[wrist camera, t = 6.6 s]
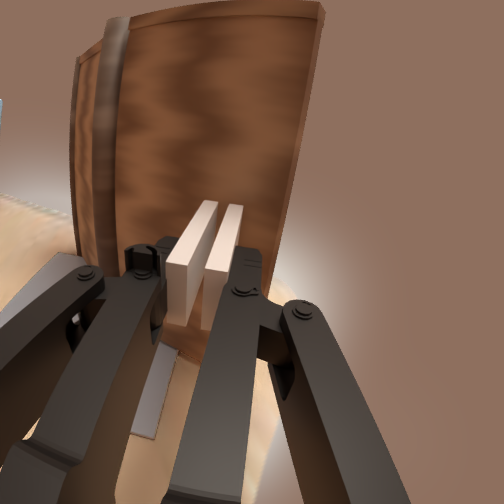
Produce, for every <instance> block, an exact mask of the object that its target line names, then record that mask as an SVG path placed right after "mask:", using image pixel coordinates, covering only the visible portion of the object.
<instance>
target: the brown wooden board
mask: <svg viewBox="0 0 504 504" xmlns="http://www.w3.org/2000/svg"><path fill="white" fill-rule="evenodd" d="M325 13H326V12H325V10H324V8H323V7H322V5H321V3H320V2H314V1H303V0H230V1H218V2H208V3H201V4H193V5H187V6H180V7H174V8H169V9H164V10H159V11H154V12H150V13H146V14H142V15H138V16H134V17H130V21H129V26H128V30H130V32H129V37H128V42H127V48H126V53H125V59H124V66H123V73H122V80H121V88H120V97H119V108H118V119H117V134H116V156H115V210H116V233H117V248H118V260H119V271H120V277H122V276H123V274H124V273H125V271H126V268H125V255H124V250H125V249H126V248H127V247H129V246H132V245H135V244H150V245H155V244H156V243H157V241H158V240H159V239H161V238H163V237H165V236H172V237H178V238H180V237H181V236H182V234H183V232H184V231H185V229H186V228H187V226H188V225H189V223H190V221H191V220H192V218H193V217H194V215H195V214H196V212H197V211H198V209H199V207H200V206H201V204H202V203H203V201H204V200H209V201H216V202H218V211H217V220H216V229H215V239H216V237H217V234H218V232H219V229H220V226H221V224H222V221H223V219H224V216H225V213H226V211H227V208H228V206H229V204H236V205H243V206H244V207H243V214H242V220H241V227H240V234H239V241H238V246H241V247H248V248H254V249H258V250H259V251H260V253H261V254H262V275H261V290H262V294H263V295H264V296H265V297H266V298H268V293H269V289H270V285H271V281H272V276H273V272H274V268H275V263H276V259H277V254H278V250H279V245H280V241H281V236H282V232H283V227H284V223H285V218H286V213H287V209H288V204H289V200H290V195H291V190H292V185H293V181H294V176H295V171H296V166H297V161H298V156H299V151H300V146H301V141H302V136H303V131H304V125H305V120H306V116H307V110H308V105H309V100H310V94H311V89H312V83H313V78H314V72H315V67H316V60H317V55H318V49H319V44H320V38H321V31H322V28H323V26H324V20H325ZM215 239H214V242H215ZM203 285H204V276H203V279H202V281H201V284H200V287H199V290H198V293H197V296H196V299H195V302H194V304H193V307H192V310H191V313H190V316H189V319H188V322H187V325H186V326H180V325H175V324H170V323H167V313H166V315H165V318H164V320H163V334H162V336H161V339H160V340H162V341H164V342H165V343H167V344H169V345H171V346H172V347H174V348H176V349H178V350H179V351H181V352H183V353H185V354H187V355H188V356H190V357H192V358H194V359H196V360H198V361H200V362H202V360H203V356H204V353H205V349H206V345H207V342H208V338H209V335H210V331H208V330H202V329H201V316H202V300H203Z"/></svg>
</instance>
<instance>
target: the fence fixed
mask: <svg viewBox="0 0 504 504" xmlns="http://www.w3.org/2000/svg"><path fill="white" fill-rule="evenodd" d="M129 21H130V17H115V18H111V19H108V20H107V23H106V27H105V32H104V37H103V39H101V40H100V41H99V42H97V43H96V44H95V45H93V46H92V47H91V48H90V49H88V50H87V51H86V52H85V53H84V54H82V55H81V56H79V57H77V58H76V65H75V72H74V80H73V89H72V100H71V115H70V143H69V153H70V154H69V157H70V158H69V160H70V188H71V204H72V215H73V225H74V234H75V241H76V249H77V255H78V256H80V257H83V258H84V260H85V262H86V264H87V265H94V266H98V267H100V268H101V269H102V270H103V272H104V277H120V271H119V260H118V248H117V233H116V210H115V156H116V134H117V119H118V108H119V97H120V88H121V80H122V73H123V66H124V59H125V53H126V48H127V42H128V37H129V32H130V30H128V26H129Z"/></svg>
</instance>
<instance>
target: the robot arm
mask: <svg viewBox="0 0 504 504" xmlns="http://www.w3.org/2000/svg"><path fill="white" fill-rule="evenodd" d="M2 104H3V101H2V100H1V99H0V128H1V115H2ZM243 207H244V206H243V205H236V204H229V206H228V208H227V211H226V213H225V216H224V219H223V221H222V224H221V226H220V229H219V232H218V234H217V237H216V239H215V229H216V220H217V211H218V202H216V201H209V200H204V201H203V203H202V204H201V206H200V207H199V209H198V211H197V212H196V214H195V215H194V217H193V218H192V220H191V221H190V223H189V225H188V226H187V228H186V229H185V231H184V232H183V234H182V236H181V237H180V238H178V237H172V236H165V237H163V238H161V239H159V240H158V241H157V243H156V244H155V245H150V244H135V245H132V246H129V247H127V248H126V249H125V250H124V255H125V268H126V271H125V273H124V274H123V276H122V277H104V272H103V270H102V269H101V268H100V267H98V266H94V265H84V266H80V267H78V268H76V269H74V270H72V271H71V272H70V273H68V274H67V275H66V276H64V277H63V278H62V279H60V280H59V281H58V282H56V283H55V284H54V285H52V286H51V287H50V288H48V289H47V290H46V291H45V292H43V293H42V294H41V295H40V296H38V297H37V298H36V299H34V300H33V301H32V302H31V303H29V304H28V305H27V306H26V307H25V308H23V309H22V310H21V311H20V312H18V313H17V314H16V315H15V316H14V317H13V318H11V319H10V320H9V321H8V322H7V323H6V324H4V325H3V326H2V327H1V328H0V468H1V467H2V469H1V472H0V504H116V502H115V496H114V494H115V487H116V483H117V479H118V475H119V471H120V467H121V463H122V460H123V456H124V452H125V449H126V445H127V442H128V438H129V435H130V431H131V428H132V425H133V421H134V418H135V415H136V411H137V408H138V405H139V402H140V399H141V396H142V392H143V389H144V386H145V383H146V380H147V377H148V374H149V371H150V368H151V365H152V362H153V359H154V356H155V353H156V351H157V348H158V345H159V342H160V339H161V336H162V334H163V320H164V318H165V315H166V313H167V323H170V324H175V325H180V326H186V325H187V322H188V319H189V316H190V313H191V310H192V307H193V304H194V302H195V299H196V296H197V293H198V290H199V287H200V284H201V281H202V279H203V276H204V285H203V300H202V316H201V329H202V330H208V331H210V335H209V338H208V342H207V345H206V349H205V353H204V356H203V360H202V363H201V367H200V370H199V374H198V378H197V381H196V385H195V389H194V392H193V396H192V400H191V403H190V407H189V411H188V415H187V418H186V422H185V426H184V430H183V433H182V437H181V441H180V445H179V449H178V453H177V456H176V460H175V464H174V468H173V472H172V476H171V480H170V484H169V487H168V490H167V493H166V494H165V496H164V497H163V499H162V501H161V504H241V495H242V486H243V478H244V469H245V461H246V452H247V443H248V434H249V425H250V416H251V406H252V397H253V387H254V377H255V367H256V358H259V359H261V360H264V361H266V362H268V369H269V373H270V377H271V381H272V385H273V388H274V392H275V396H276V400H277V404H278V408H279V412H280V415H281V419H282V423H283V427H284V431H285V435H286V438H287V442H288V446H289V449H290V453H291V457H292V461H293V465H294V468H295V472H296V476H297V479H298V483H299V487H300V490H301V494H302V498H303V501H304V504H411V503H410V500H409V498H408V495H407V493H406V491H405V488H404V486H403V483H402V481H401V479H400V476H399V474H398V472H397V469H396V467H395V465H394V463H393V461H392V458H391V456H390V454H389V451H388V449H387V447H386V444H385V442H384V440H383V438H382V436H381V433H380V431H379V429H378V427H377V425H376V423H375V420H374V418H373V416H372V414H371V412H370V410H369V407H368V405H367V403H366V401H365V399H364V397H363V395H362V393H361V390H360V388H359V386H358V384H357V382H356V380H355V378H354V376H353V374H352V372H351V370H350V368H349V366H348V364H347V362H346V359H345V357H344V355H343V353H342V352H341V349H340V347H339V345H338V343H337V341H336V339H335V337H334V336H333V333H332V332H331V330H330V328H329V325H328V323H327V322H326V320H325V318H324V316H323V314H322V312H321V311H320V309H319V308H318V307H317V306H315V305H314V304H312V303H310V302H308V301H305V300H291V301H289V302H287V303H285V305H284V306H281V305H278V304H275V303H273V302H271V301H270V300H268V299H267V298H266V297H265V296H264V295H263V294H262V290H261V275H262V254H261V253H260V251H259V250H258V249H254V248H248V247H241V246H238V241H239V234H240V227H241V220H242V214H243ZM214 239H215V242H214ZM77 314H78V318H79V320H78V321H77V322H75V323H73V320H72V318H73V317H74V316H75V315H77ZM39 418H40V419H39ZM38 419H39V421H38V424H37V426H36V428H35V430H34V432H33V434H32V436H31V437H30V438H29V439H27V440H22V439H23V438H24V437H25V435H26V434H27V433H28V432H29V430H30V429H31V428H32V426H33V425H34V424H35V423H36V421H37V420H38ZM2 465H3V466H2Z"/></svg>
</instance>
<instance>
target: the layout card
mask: <svg viewBox="0 0 504 504" xmlns="http://www.w3.org/2000/svg"><path fill="white" fill-rule="evenodd" d="M84 265H87V264H86V262H85V260H84V258H83V257H80V256H75V255H70V254H65V253H60V252H58V253H57V254H56V255H55V256H54V257H53V258H52V259H51V260H50V261H49V262H48V263H46V264H45V265H44V266H43V267H42V268H41V269H40V270H39V271H38V272H37V273H36V274H35V275H34V276H33V277H32V278H31V279H30V280H29V282H28V283H27V284H26V285H25V286H24V287H23V288H22V289H21V290H20V291H19V292H18V293H17V294H16V295H15V296H14V298H13V299H12V300H11V301H10V302H9V303H8V304H7V305H6V306H5V308H4V309H3V310H2V311H1V312H0V328H1V327H2V326H3V325H4V324H6V323H7V322H8V321H9V320H10V319H11V318H13V317H14V316H15V315H16V314H17V313H18V312H20V311H21V310H22V309H23V308H25V307H26V306H27V305H28V304H29V303H31V302H32V301H33V300H34V299H36V298H37V297H38V296H40V295H41V294H42V293H43V292H45V291H46V290H47V289H48V288H50V287H51V286H52V285H54V284H55V283H56V282H58V281H59V280H60V279H62V278H63V277H64V276H66V275H67V274H68V273H70V272H71V271H72V270H74V269H76V268H78V267H80V266H84ZM72 320H73V323H75V322H77V321H78V320H79V318H78V314H77V315H75V316H74V317H73V318H72ZM178 351H179V350H178V349H176V348H174V347H172V346H171V345H169V344H167V343H165V342H164V341H162V340H160V342H159V345H158V348H157V351H156V353H155V356H154V359H153V362H152V365H151V368H150V371H149V374H148V377H147V380H146V383H145V386H144V389H143V392H142V396H141V399H140V402H139V405H138V408H137V411H136V415H135V418H134V421H133V425H132V428H131V431H130V433H131V434H134V435H138V436H142V437H145V438H149V439H153V440H154V439H155V435H156V431H157V427H158V424H159V420H160V416H161V412H162V408H163V404H164V401H165V397H166V393H167V390H168V386H169V382H170V379H171V375H172V371H173V368H174V364H175V361H176V357H177V354H178Z"/></svg>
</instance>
